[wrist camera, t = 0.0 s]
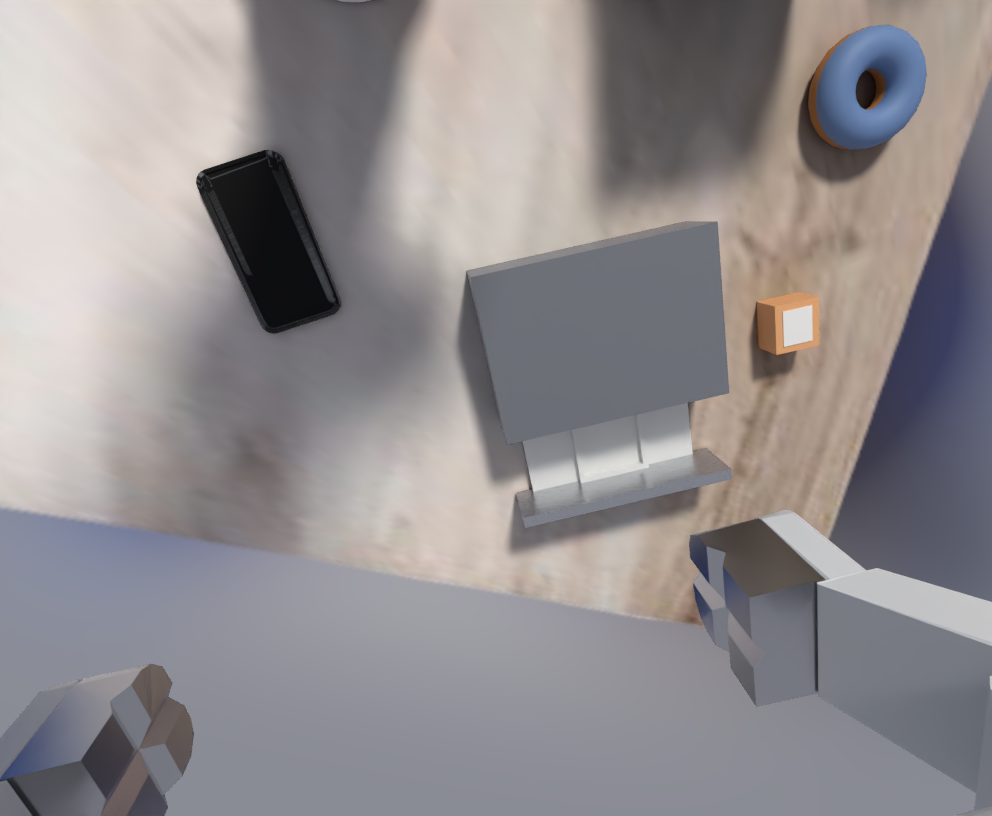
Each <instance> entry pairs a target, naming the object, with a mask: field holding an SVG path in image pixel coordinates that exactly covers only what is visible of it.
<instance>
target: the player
mask: <svg viewBox="0 0 992 816" xmlns="http://www.w3.org/2000/svg"><path fill="white" fill-rule="evenodd" d="M467 275H468V280H469V284H470V289H471V293H472V298H473V302H474V307H475V311H476V316H477V320H478V325H479V329H480V334H481V338H482V343H483V347H484V352H485V357H486V361H487V366H488V370H489V375H490V379H491V384H492V388H493V393H494V397H495V402H496V406H497V411H498V415H499V420H500V423H501V427H502V430H503V433H504V436H505V440H506V443H507V445H509V444H513V443H517V442H522V441H526V440H530V439H535V438H539V437H543V436H547V435H552V434H556V433H560V432H565V431H569V430H573V429H577V428H582V427H586V426H590V425H595V424H599V423H603V422H607V421H612V420H616V419H620V418H625V417H629V416H633V415H637V414H642V413H646V412H650V411H655V410H659V409H663V408H667V407H672V406H676V405H680V404H685V403H689V402H693V401H697V400H702V399H706V398H710V397H714V396H719V395H723V394H727V393H729V383H728V368H727V354H726V339H725V324H724V310H723V295H722V280H721V266H720V251H719V236H718V222H681V223H677V224H673V225H668V226H664V227H659V228H655V229H650V230H646V231H641V232H637V233H633V234H628V235H624V236H619V237H615V238H610V239H606V240H601V241H597V242H593V243H588V244H584V245H579V246H575V247H570V248H566V249H561V250H557V251H552V252H548V253H544V254H539V255H535V256H530V257H526V258H521V259H517V260H512V261H508V262H504V263H499V264H495V265H490V266H486V267H481V268H477V269H472V270H468V271H467Z"/></svg>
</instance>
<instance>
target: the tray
mask: <svg viewBox="0 0 992 816" xmlns="http://www.w3.org/2000/svg"><path fill="white" fill-rule="evenodd" d="M522 442H523V447H524V452H525V457H526V461H527V466H528V471H529V476H530V480H531V485H532V489H531V490H526V491H522V492H518V493H516V496H517V501H518V505H519V508H520V512H521V515H522V519H523V522H524V526H525V528H528V527H532V526H536V525H540V524H545V523H549V522H553V521H557V520H561V519H566V518H570V517H574V516H578V515H582V514H587V513H591V512H595V511H599V510H604V509H608V508H612V507H616V506H620V505H625V504H629V503H633V502H637V501H641V500H646V499H650V498H654V497H658V496H662V495H667V494H671V493H675V492H679V491H683V490H688V489H692V488H696V487H700V486H705V485H709V484H713V483H717V482H721V481H726V480H730V479H732V475H731V468H730V467H728V466H727V465H726V464H725V463H724V462H723V461H721V460H720V459H719V458H718V457H717V456H715V455H714V454H713V453H712V452H711V451H710V450H708V449H707V448H704V449H700V450H696V451H692V443H691V432H690V422H689V411H688V403H685V404H680V405H676V406H672V407H667V408H663V409H659V410H655V411H650V412H646V413H642V414H637V415H633V416H629V417H625V418H620V419H616V420H612V421H607V422H603V423H599V424H595V425H590V426H586V427H582V428H577V429H573V430H569V431H565V432H560V433H556V434H552V435H547V436H543V437H539V438H535V439H530V440H526V441H522Z"/></svg>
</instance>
